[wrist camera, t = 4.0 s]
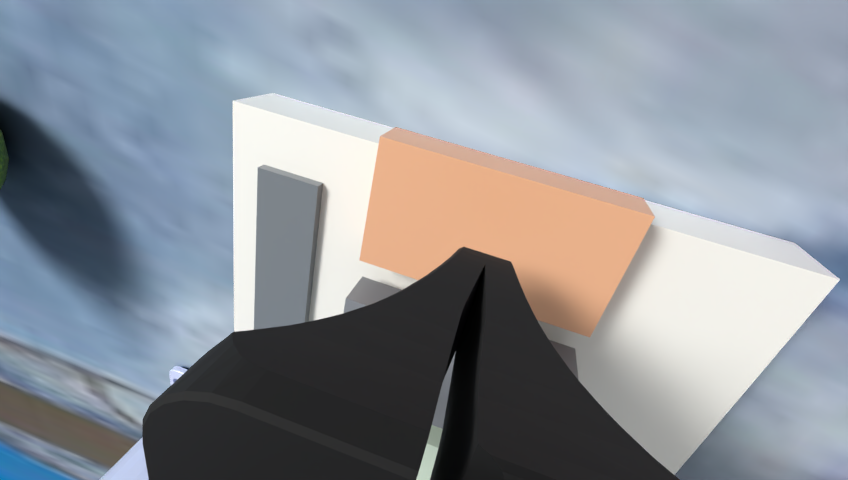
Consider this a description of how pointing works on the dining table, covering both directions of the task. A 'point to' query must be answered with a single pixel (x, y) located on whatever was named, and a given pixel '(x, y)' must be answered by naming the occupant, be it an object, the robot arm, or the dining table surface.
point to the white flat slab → (596, 355)
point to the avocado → (3, 160)
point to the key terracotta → (502, 224)
